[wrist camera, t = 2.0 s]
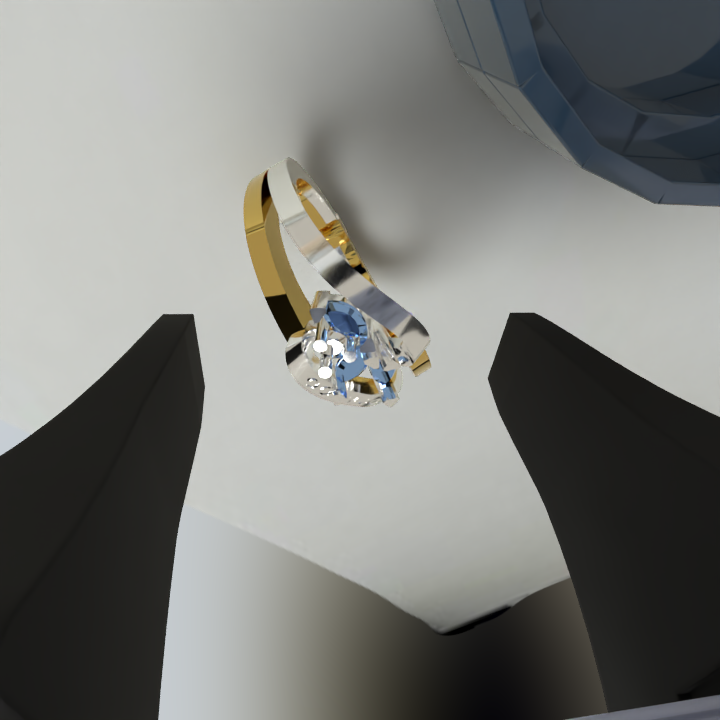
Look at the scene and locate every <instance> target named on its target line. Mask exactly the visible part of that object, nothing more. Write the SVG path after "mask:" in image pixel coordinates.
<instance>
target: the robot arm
mask: <svg viewBox="0 0 720 720" xmlns="http://www.w3.org/2000/svg"><path fill="white" fill-rule="evenodd" d="M488 381H489V384H490V387H491V390H492V394H493V397H494V400H495V403H496V406H497V408H498V411H499V414H500V416H501V418H502V420H503V422H504V424H505V426H506V428H507V430H508V432H509V434H510V436H511V439H512V441H513V443H514V444H515V446H516V448H517V450H518V452H519V454H520V456H521V458H522V460H523V462H524V464H525V466H526V468H527V470H528V472H529V474H530V476H531V478H532V480H533V482H534V484H535V486H536V488H537V490H538V492H539V494H540V496H541V498H542V501H543V503H544V505H545V507H546V510H547V512H548V515H549V518H550V520H551V523H552V526H553V528H554V531H555V534H556V536H557V539H558V541H559V544H560V547H561V550H562V553H563V556H564V559H565V561H566V564H567V567H568V570H569V573H570V576H571V579H572V582H573V585H574V588H575V591H576V595H577V598H578V601H579V604H580V608H581V611H582V614H583V618H584V621H585V624H586V627H587V631H588V634H589V638H590V642H591V645H592V649H593V653H594V657H595V661H596V665H597V669H598V672H599V676H600V680H601V684H602V688H603V692H604V697H605V701H606V705H607V710H608V713H604V714H598V715H592V716H586V717H579V718H573V719H568V720H720V417H718V416H716V415H714V414H712V413H710V412H708V411H706V410H704V409H702V408H699V407H697V406H695V405H693V404H691V403H689V402H687V401H685V400H683V399H681V398H679V397H677V396H675V395H673V394H671V393H669V392H667V391H665V390H664V389H662V388H660V387H658V386H656V385H655V384H653V383H651V382H649V381H648V380H646V379H644V378H642V377H640V376H639V375H637V374H635V373H633V372H632V371H630V370H628V369H627V368H625V367H623V366H622V365H620V364H618V363H617V362H615V361H613V360H612V359H610V358H608V357H607V356H605V355H604V354H602V353H600V352H599V351H597V350H596V349H594V348H592V347H591V346H589V345H588V344H586V343H585V342H583V341H581V340H580V339H578V338H577V337H575V336H573V335H572V334H570V333H569V332H567V331H565V330H564V329H562V328H561V327H559V326H557V325H556V324H554V323H552V322H551V321H549V320H547V319H545V318H543V317H542V316H540V315H538V314H536V313H510V315H509V317H508V320H507V323H506V326H505V329H504V332H503V335H502V338H501V341H500V344H499V347H498V350H497V353H496V356H495V359H494V361H493V364H492V367H491V370H490V373H489V376H488ZM204 390H205V384H204V378H203V372H202V365H201V359H200V353H199V346H198V340H197V334H196V328H195V321H194V315H193V314H163V315H162V316H161V317H160V318H159V319H158V320H157V321H156V322H155V323H154V324H153V325H152V326H151V327H150V328H149V329H148V330H147V331H146V332H145V333H144V334H143V336H142V337H141V338H140V339H139V340H138V341H137V342H136V343H135V344H134V345H133V346H132V347H131V348H130V349H129V350H128V351H127V352H126V353H125V354H124V355H123V356H122V357H121V358H120V359H119V360H118V361H117V362H116V363H115V364H114V365H113V366H112V367H111V368H110V369H109V370H108V371H107V372H106V373H105V374H104V375H103V376H102V377H101V378H100V379H99V380H98V381H96V382H95V383H94V384H93V385H92V386H91V387H90V388H89V389H87V390H86V391H85V392H84V393H83V394H82V395H81V396H80V397H78V398H77V399H76V400H75V401H74V402H73V403H72V404H70V405H69V406H68V407H67V408H66V409H64V410H63V411H62V412H61V413H59V414H58V415H57V416H56V417H54V418H53V419H52V420H50V421H49V422H48V423H46V424H45V425H44V426H42V427H41V428H40V429H38V430H37V431H36V432H34V433H33V434H32V435H30V436H29V437H28V438H26V439H25V440H24V441H22V442H21V443H19V444H18V445H16V446H15V447H13V448H12V449H10V450H9V451H7V452H6V453H4V454H3V455H1V456H0V720H158V715H159V702H160V689H161V679H162V668H163V657H164V646H165V636H166V626H167V617H168V607H169V598H170V589H171V580H172V571H173V564H174V556H175V547H176V539H177V533H178V527H179V522H180V517H181V512H182V507H183V504H184V499H185V495H186V491H187V486H188V482H189V478H190V473H191V469H192V465H193V460H194V456H195V452H196V447H197V443H198V438H199V434H200V429H201V423H202V413H203V402H204Z"/></svg>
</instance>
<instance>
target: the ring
mask: <svg viewBox="0 0 720 720" xmlns="http://www.w3.org/2000/svg"><path fill="white" fill-rule="evenodd" d="M278 215H279V217H280V219H281V221H282V223H283V225H284V227H285V228H286V230H287V232H288V234H289V235H290V237H291V238H292V240H293V242H294V243H295V244H296V246H297V247H298V249H299V250H300V251H301V253H302V254H303V255H304V257H305V258H306V259H307V260H308V262H309V263H310V264H311V265H312V266H313V267H314V269H315V270H316V271H317V272H318V273H319V274H320V275H321V276H322V277H323V278H324V279H325V280H326V281H327V282H328V283H329V284H330V285H331V286H332V287H333V288H334V289H336V290H337V291H338V292H339V293H340V294H341V295H338V294H330V291H316V292H315V295H314V298H313V301H312V304H311V306H310V304H309V302H308V301H307V299H306V297H305V295H304V294H303V292H302V290H301V288H300V286H299V284H298V282H297V280H296V278H295V276H294V274H293V271H292V269H291V266H290V264H289V261H288V258H287V256H286V253H285V249H284V246H283V242H282V238H281V233H280V227H279V218H278ZM244 225H245V232H246V238H247V243H248V248H249V252H250V256H251V259H252V263H253V266H254V269H255V272H256V275H257V278H258V281H259V284H260V286H261V289H262V291H263V294H264V296H265V299H266V301H267V303H268V305H269V308H270V310H271V312H272V314H273V316H274V318H275V320H276V322H277V324H278V326H279V328H280V330H281V332H282V333H283V335H284V337H285V339H286V340H287V342H288V343H287V347H286V362H287V366H288V369H289V371H290V373H291V375H292V376H293V378H294V379H295V380H296V381H297V383H298V384H299V385H300V386H301V387H303V388H304V389H305V390H306V391H308V392H309V393H311V394H313V395H315V396H317V397H319V398H321V399H324V400H327V401H330V402H334V405H340V404H343V405H350V406H358V407H370V406H374V405H377V404H379V403H381V402H383V403H384V404H385V405H387V406H389V407H392V406H394V405H395V404H396V403H397V401H398V400H399V399H400V398H399V396H398V393H399V392H400V390H401V388H402V384H403V375H402V369H401V366H405V367H409V368H410V370H411V371H412V373H413V374H414V376H415V377H417V376H418V375H420V374H422V373H423V372H425V371H426V370H428V369H430V368H431V363H430V360H429V358H428V355H427V353H426V351H425V349H426V348H427V347H428V345H429V343H430V337H429V334H428V332H427V331H426V329H425V328H424V326H423V325H422V324H421V323H420V322H419V321H418V320H417V319H416V318H415V317H414V316H412V315H411V314H410V313H409V312H408V311H406V310H405V309H404V308H402V307H401V306H400V305H398V304H397V303H396V302H395V301H393V300H392V299H391V298H389V297H388V296H387V295H385V294H384V293H383V292H381V291H380V290H379V289H378V287H377V285H376V283H375V282H374V280H373V278H372V276H371V275H370V273H369V271H368V269H367V268H366V266H365V264H364V262H363V261H362V259H361V257H360V255H359V254H358V252H357V250H356V248H355V247H354V245H353V243H352V241H351V240H350V238H349V236H348V234H347V233H348V231H347V229H346V227H345V225H344V223H343V222H342V220H341V218H340V216H339V215H338V213H337V212H336V213H335V212H334V210H333V208H332V207H331V205H330V204H329V202H328V201H327V199H326V198H325V196H324V195H323V193H322V192H321V190H320V189H319V187H318V186H317V185H316V183H315V182H314V181H313V179H312V178H311V177H310V175H309V174H308V173H307V172H306V171H305V169H304V168H303V167H302V166H301V165H300V164H299V163H298V162H297V161H295V160H294V159H292V158H290V157H288V158H286V159H284V160H283V161H281V162H279V163H277V164H275V165H273V166H271V167H270V168H269V169H267V170H266V171H264V172H262V173H261V174H259V175H257V176H256V177H254V178H253V179H252V180H251V181H250V183H249V185H248V187H247V190H246V193H245V198H244ZM323 316H324V317H323ZM313 347H314V348H315V350H317V351H319V352H321V358H320V359H319V358H318V357H317V356H316V355H315V353H314V349H313ZM332 363H333V364H332ZM367 366H368V368H369V371H370V373H371V375H372V377H373V379H369V378H363V377H358V375H360V374H361V373H362V372H363V371H364V370H365V368H366V367H367Z"/></svg>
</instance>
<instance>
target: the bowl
mask: <svg viewBox="0 0 720 720" xmlns="http://www.w3.org/2000/svg"><path fill="white" fill-rule="evenodd" d="M434 2H435V5H436V7H437V10H438V12H439V15H440V18H441V20H442V23H443V25H444V28H445V31H446V33H447V36H448V38H449V41H450V44H451V46H452V49H453V51H454V54H455V57H456V58H457V59H458V62H459V64H460V65H461V66H462V67H463V68H464V69H465V71H466V72H467V73H468V74H469V75H470V77H471V78H472V79H473V80H474V81H475V82H476V84H477V85H478V86H479V87H480V88H481V90H482V91H483V92H484V93H485V94H486V95H487V97H488V98H489V99H490V100H491V101H492V103H493V104H494V105H495V106H496V107H497V108H498V110H499V111H500V112H501V113H502V114H503V116H504V117H505V118H506V119H507V120H508V121H509V123H511V124H512V125H513V126H515V127H517V128H518V129H520V130H521V131H523V132H525V133H526V134H528V135H529V136H531V137H533V138H534V139H536V140H537V141H539V142H541V143H542V144H544V145H545V146H547V147H549V148H550V149H552V150H553V151H555V152H557V153H558V154H560V155H561V156H563V157H565V158H566V159H568V160H569V161H571V162H573V163H574V164H576V165H577V166H579V167H581V168H582V169H584V170H586V171H588V172H591V173H593V174H595V175H597V176H599V177H601V178H603V179H605V180H607V181H609V182H611V183H613V184H615V185H617V186H619V187H621V188H623V189H625V190H627V191H629V192H631V193H634V194H636V195H638V196H640V197H642V198H644V199H646V200H648V201H650V202H652V203H654V204H666V205H691V206H716V207H720V0H434Z"/></svg>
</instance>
